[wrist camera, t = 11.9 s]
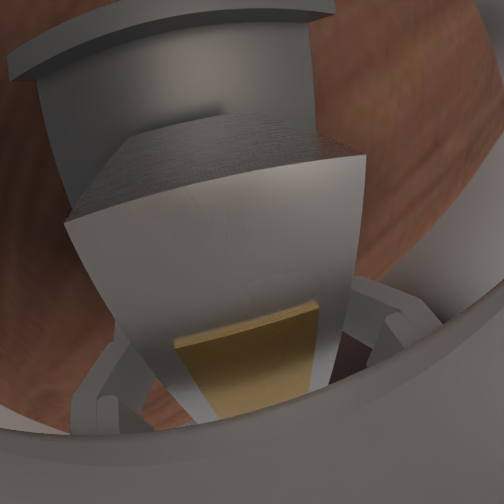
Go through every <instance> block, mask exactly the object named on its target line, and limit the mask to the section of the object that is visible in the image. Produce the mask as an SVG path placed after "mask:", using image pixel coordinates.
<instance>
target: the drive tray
mask: <svg viewBox="0 0 504 504" xmlns="http://www.w3.org/2000/svg"><path fill="white" fill-rule="evenodd" d="M335 14H336V10H335V3H334V0H121V1H117V2H114V3H111V4H108V5H105V6H102V7H99V8H97V9H94V10H91V11H89V12H86V13H84V14H81V15H79V16H77V17H74V18H72V19H70V20H68V21H65V22H63V23H61V24H59V25H57V26H55V27H53V28H51V29H49V30H47V31H45V32H43V33H42V34H40V35H38V36H36V37H34V38H33V39H31V40H29V41H28V42H26V43H24V44H23V45H21V46H19V47H18V48H16V49H15V50H13V51H12V52H10V53H9V54H7V66H8V75H9V82H15V81H32V80H36V82H37V88H38V94H39V99H40V104H41V109H42V114H43V118H44V122H45V127H46V131H47V134H48V138H49V142H50V145H51V149H52V152H53V156H54V159H55V162H56V165H57V169H58V172H59V175H60V177H61V180H62V183H63V186H64V189H65V192H66V194H67V197H68V200H69V202H70V205H71V207H72V209H73V208H74V206H75V205H76V204H77V202H78V201H79V199H80V198H81V196H82V195H83V194H84V192H85V191H86V189H87V188H88V187H89V185H90V184H91V183H92V181H93V180H94V179H95V177H96V176H97V175H98V173H99V172H100V171H101V170H102V168H103V167H104V166H105V165H106V163H107V162H108V161H109V160H110V158H111V157H112V156H113V155H114V154H115V152H116V151H117V150H118V149H119V148H120V147H121V145H122V144H123V143H124V142H125V141H126V140H127V139H128V138H129V137H131V136H134V135H138V134H141V133H145V132H148V131H152V130H155V129H159V128H163V127H167V126H171V125H175V124H179V123H184V122H188V121H193V120H198V119H203V118H208V117H213V116H218V115H224V114H230V113H237V112H243V111H253V112H256V113H260V114H263V115H266V116H269V117H272V118H275V119H278V120H281V121H284V122H287V123H290V124H293V125H296V126H299V127H301V128H304V129H307V130H309V131H312V132H315V133H316V118H315V99H314V84H313V72H312V60H311V50H310V41H309V32H308V24H307V23H309V22H312V21H315V20H319V19H322V18H325V17H328V16H332V15H335Z"/></svg>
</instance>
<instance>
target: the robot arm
mask: <svg viewBox="0 0 504 504" xmlns="http://www.w3.org/2000/svg"><path fill="white" fill-rule="evenodd" d="M342 331H344V332H346V333H347V334H349V335H351V336H352V337H354V338H356V339H357V340H359V341H361V342H362V343H364V344H366V345H367V346H369V347H371V348H372V349H373V350H372V352H371V355H370V357H369V359H368V362H367V366H368V368H367V369H364V370H362V371H360V372H358V373H356V374H353V375H351V376H349V377H347V378H345V379H343V380H340V381H338V382H335V383H333V384H330V385H328V386H326V387H323V388H321V389H318V390H315V391H313V392H310V393H307V394H305V395H302V396H299V397H296V398H294V399H291V400H288V401H285V402H282V403H279V404H276V405H272V406H269V407H266V408H263V409H259V410H256V411H252V412H248V413H245V414H241V415H237V416H233V417H229V418H225V419H221V420H216V421H212V422H207V423H202V424H197V425H191V426H186V427H180V428H173V429H167V430H159V431H155V429H154V427H153V426H152V425H150V424H149V423H148V422H146V421H145V420H144V419H142V418H141V417H140V416H139V415H140V413H141V411H142V408H143V406H144V404H145V401H146V399H147V397H148V394H149V392H150V390H151V387H152V385H153V383H154V381H155V378H156V375H155V374H154V373H153V371H152V370H151V369H150V368H149V366H148V365H147V364H146V362H145V361H144V360H143V358H142V357H141V356H140V354H139V353H138V352H137V350H136V349H135V348H134V346H133V345H132V343H131V342H130V340H129V339H128V338H127V336H126V335H125V333H124V332H123V330H122V329H121V327H120V326H119V324H118V323H117V321H116V320H115V327H114V338H113V342H111V343H109V344H108V345H107V347H106V348H105V349H104V351H103V352H102V354H101V355H100V356H99V358H98V359H97V361H96V362H95V364H94V365H93V367H92V368H91V369H90V371H89V372H88V374H87V375H86V377H85V378H84V380H83V381H82V383H81V384H80V386H79V387H78V389H77V390H76V392H75V393H74V395H73V396H72V403H71V421H70V435H56V434H43V433H32V432H24V431H17V430H10V429H4V428H0V504H504V279H503V280H502V281H501V282H500V283H498V284H497V285H496V286H495V287H494V288H492V289H491V290H490V291H489V292H488V293H486V294H485V295H484V296H483V297H481V298H480V299H479V300H478V301H476V302H475V303H474V304H472V305H471V306H469V307H468V308H467V309H466V310H464V311H463V312H461V313H460V314H459V315H457V316H456V317H454V318H453V319H451V320H450V321H448V322H447V323H446V324H444V325H443V324H442V323H441V322H440V321H439V320H438V318H437V317H436V316H435V315H434V314H433V313H432V311H431V310H430V309H429V308H428V307H427V306H426V305H425V304H424V302H423V301H422V300H421V299H419V298H417V297H414V296H412V295H409V294H407V293H404V292H402V291H399V290H396V289H394V288H391V287H389V286H386V285H384V284H381V283H378V282H376V281H373V280H371V279H368V278H365V277H363V276H360V275H358V276H355V275H354V274H353V280H352V285H351V291H350V296H349V301H348V306H347V311H346V316H345V320H344V325H343V329H342Z"/></svg>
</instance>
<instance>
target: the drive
mask: <svg viewBox="0 0 504 504" xmlns="http://www.w3.org/2000/svg"><path fill="white" fill-rule="evenodd" d="M365 170H366V154H364V153H362V152H360V151H357V150H355V149H353V148H351V147H349V146H346V145H344V144H342V143H339V142H337V141H335V140H332V139H330V138H327V137H325V136H322V135H320V134H317V133H315V132H312V131H309V130H307V129H304V128H301V127H299V126H296V125H293V124H290V123H287V122H284V121H281V120H278V119H275V118H272V117H269V116H266V115H263V114H260V113H256V112H253V111H243V112H237V113H230V114H224V115H218V116H213V117H208V118H203V119H198V120H193V121H188V122H184V123H179V124H175V125H171V126H167V127H163V128H159V129H155V130H152V131H148V132H145V133H141V134H138V135H134V136H131V137H129V138H128V139H127V140H126V141H125V142H124V143H123V144H122V145H121V147H120V148H119V149H118V150H117V151H116V152H115V154H114V155H113V156H112V157H111V158H110V160H109V161H108V162H107V163H106V165H105V166H104V167H103V168H102V170H101V171H100V172H99V173H98V175H97V176H96V177H95V179H94V180H93V181H92V183H91V184H90V185H89V187H88V188H87V189H86V191H85V192H84V194H83V195H82V196H81V198H80V199H79V201H78V202H77V204H76V205H75V206H74V208H73V209H72V211H71V212H70V214H69V216H68V217H67V219H66V220H65V222H64V226H65V228H66V230H67V232H68V234H69V237H70V239H71V241H72V243H73V245H74V247H75V249H76V251H77V253H78V255H79V257H80V259H81V261H82V263H83V265H84V267H85V269H86V271H87V272H88V274H89V276H90V278H91V280H92V282H93V283H94V285H95V287H96V289H97V290H98V292H99V294H100V295H101V297H102V299H103V300H104V302H105V304H106V305H107V307H108V309H109V310H110V312H111V313H112V315H113V317H114V318H115V320H116V321H117V323H118V324H119V326H120V327H121V329H122V330H123V332H124V333H125V335H126V336H127V338H128V339H129V340H130V342H131V343H132V345H133V346H134V348H135V349H136V350H137V352H138V353H139V354H140V356H141V357H142V358H143V360H144V361H145V362H146V364H147V365H148V366H149V368H150V369H151V370H152V371H153V373H154V374H155V375H156V377H157V378H158V379H159V380H160V381H161V383H162V384H163V385H164V386H165V388H166V389H167V390H168V391H169V392H170V393H171V395H172V396H173V397H174V398H175V399H176V400H177V402H178V403H179V404H180V405H181V406H182V407H183V408H184V409H185V410H186V412H187V413H188V414H189V415H190V416H191V417H192V418H193V419H194V420H195V421H196V422H197V423H198V424H202V423H207V422H212V421H216V420H221V419H225V418H229V417H233V416H237V415H241V414H245V413H248V412H252V411H256V410H259V409H263V408H266V407H269V406H272V405H276V404H279V403H282V402H285V401H288V400H291V399H294V398H296V397H299V396H302V395H305V394H307V393H310V392H313V391H315V390H318V389H321V388H323V387H326V386H328V383H329V379H330V376H331V372H332V369H333V365H334V362H335V358H336V354H337V350H338V346H339V342H340V338H341V334H342V329H343V325H344V320H345V316H346V311H347V306H348V301H349V296H350V291H351V285H352V280H353V274H354V268H355V262H356V255H357V248H358V241H359V234H360V225H361V217H362V207H363V196H364V184H365Z"/></svg>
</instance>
